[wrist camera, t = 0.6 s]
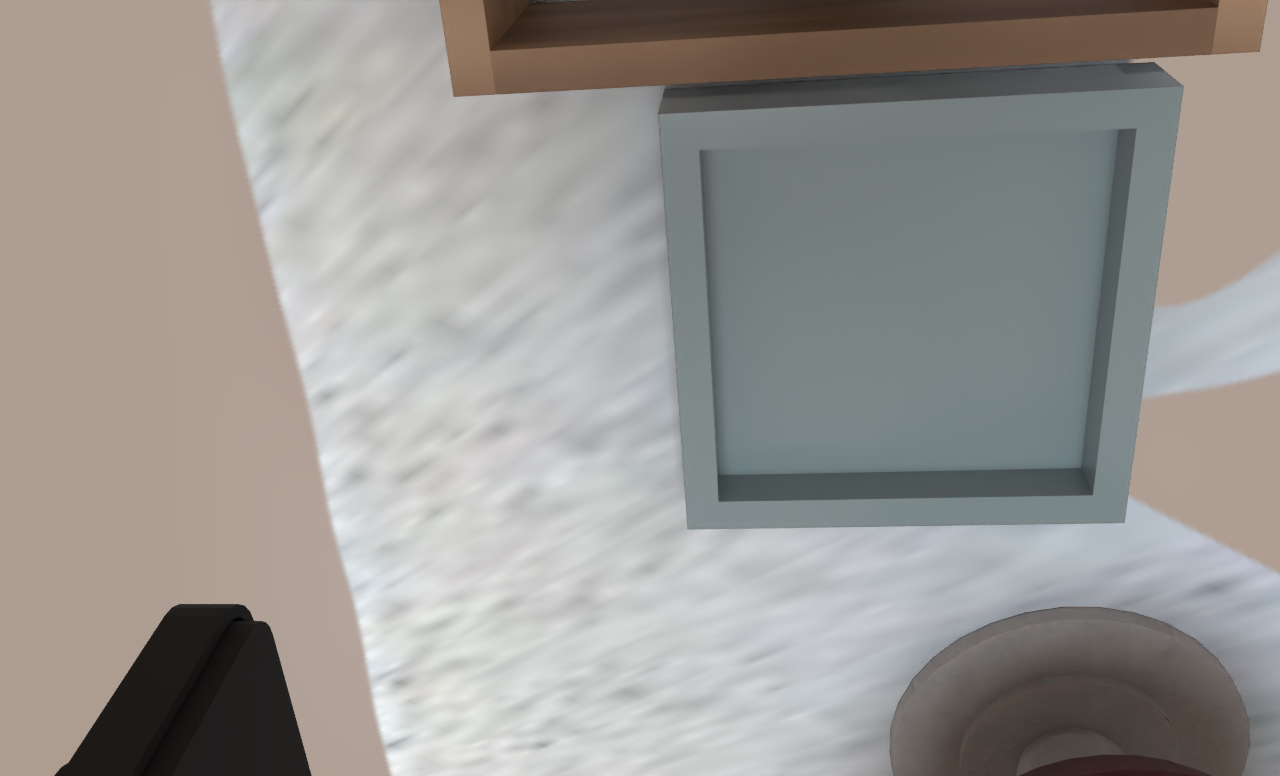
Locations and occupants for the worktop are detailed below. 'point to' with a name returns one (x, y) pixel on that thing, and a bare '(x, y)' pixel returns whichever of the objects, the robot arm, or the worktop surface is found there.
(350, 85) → the worktop surface
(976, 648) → the mate gourd
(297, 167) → the worktop surface
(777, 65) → the holder
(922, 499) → the tray
